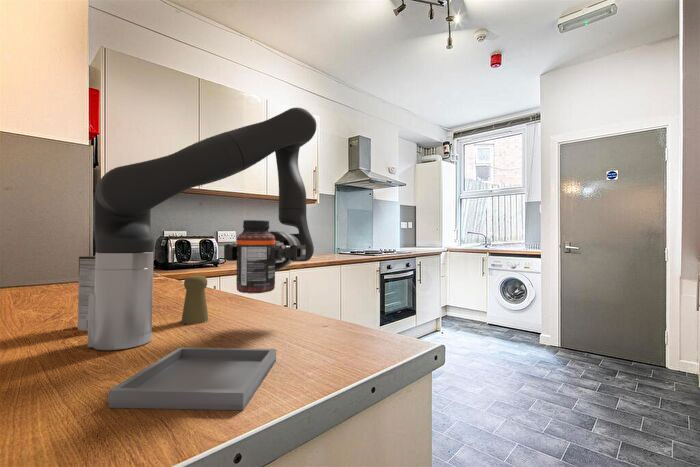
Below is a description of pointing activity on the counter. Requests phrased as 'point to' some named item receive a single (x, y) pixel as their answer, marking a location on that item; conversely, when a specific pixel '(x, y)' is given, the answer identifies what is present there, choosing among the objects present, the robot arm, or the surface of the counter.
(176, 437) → the counter surface
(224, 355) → the tray
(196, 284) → the cork
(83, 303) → the coffee box
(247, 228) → the supplement bottle
